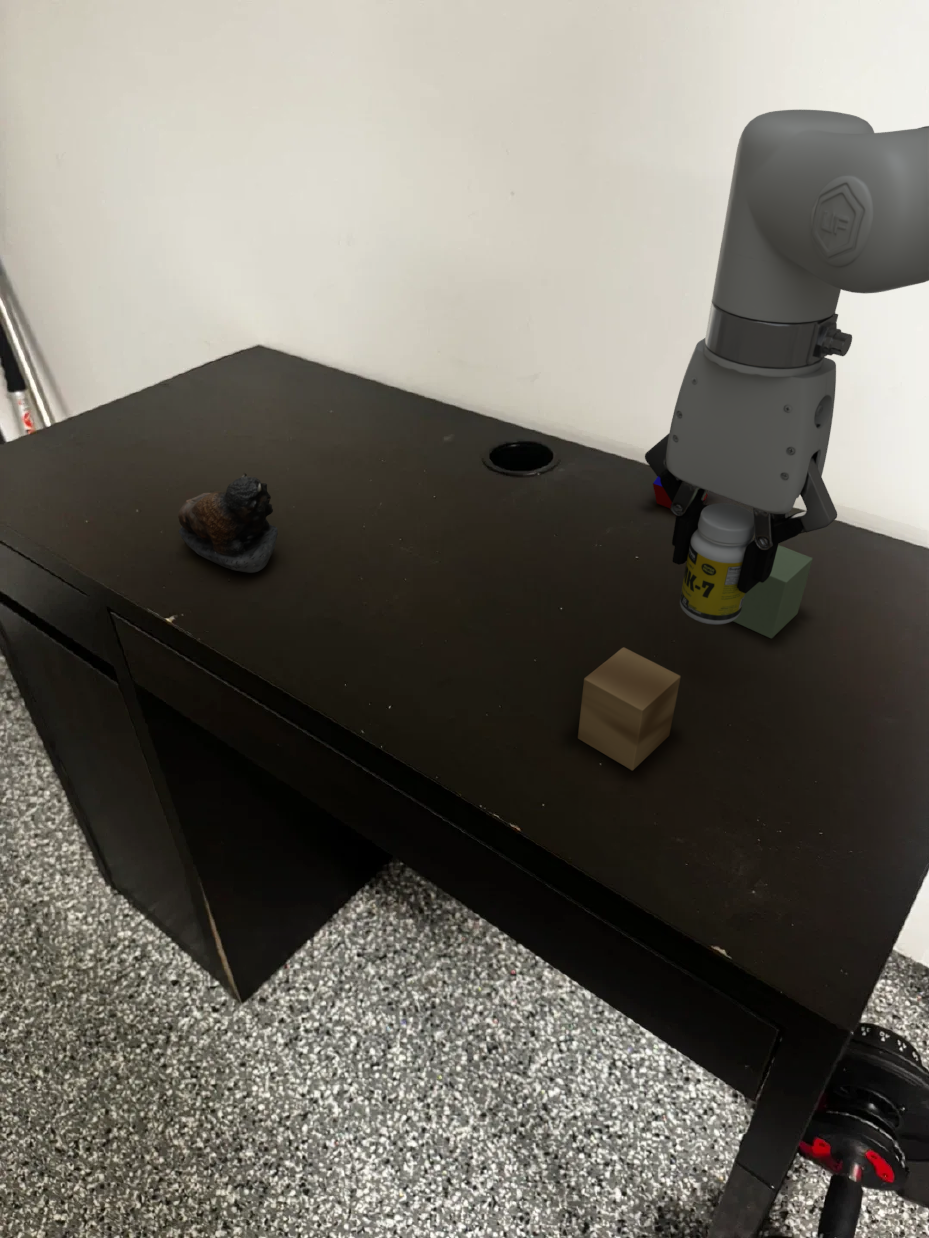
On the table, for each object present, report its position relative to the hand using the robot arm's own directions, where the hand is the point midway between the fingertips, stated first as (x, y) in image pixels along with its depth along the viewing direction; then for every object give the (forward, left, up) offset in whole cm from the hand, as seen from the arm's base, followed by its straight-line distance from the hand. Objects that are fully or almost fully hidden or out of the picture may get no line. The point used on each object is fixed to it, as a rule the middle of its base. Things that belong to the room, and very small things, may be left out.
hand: (718, 568), depth 68 cm
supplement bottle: (0, 0, -4) cm, 4 cm away
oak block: (+7, +8, -10) cm, 15 cm away
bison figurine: (+42, -16, -10) cm, 47 cm away
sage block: (-7, -8, -10) cm, 15 cm away
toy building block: (-3, -28, -10) cm, 30 cm away
